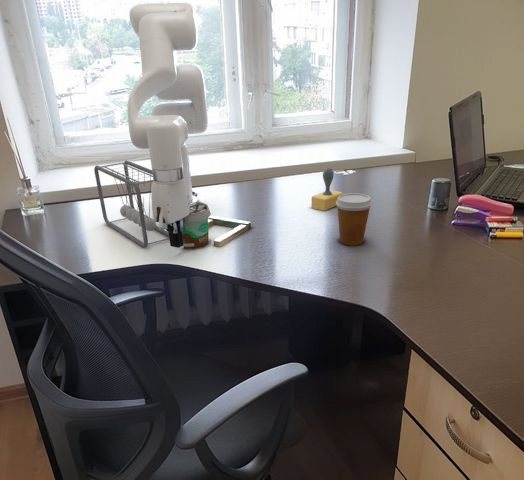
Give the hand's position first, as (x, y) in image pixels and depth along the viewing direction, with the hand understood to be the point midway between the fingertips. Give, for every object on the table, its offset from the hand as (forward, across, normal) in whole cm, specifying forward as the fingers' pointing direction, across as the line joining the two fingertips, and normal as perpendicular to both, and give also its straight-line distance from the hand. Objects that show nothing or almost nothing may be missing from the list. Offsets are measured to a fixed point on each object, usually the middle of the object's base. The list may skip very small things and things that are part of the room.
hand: (176, 246), depth 139 cm
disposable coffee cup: (+3, -30, +37) cm, 48 cm away
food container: (+3, -10, +1) cm, 10 cm away
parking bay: (+2, -18, 0) cm, 18 cm away
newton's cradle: (+2, -10, -22) cm, 25 cm away
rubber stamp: (+2, -56, +18) cm, 59 cm away
